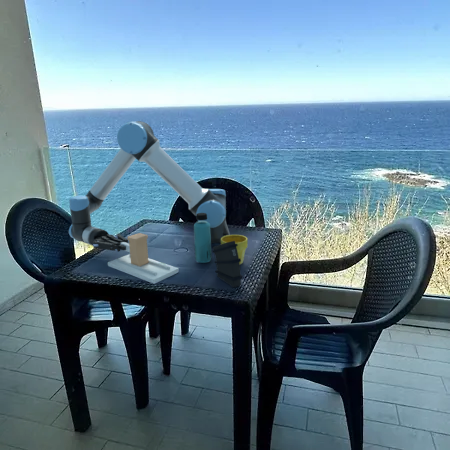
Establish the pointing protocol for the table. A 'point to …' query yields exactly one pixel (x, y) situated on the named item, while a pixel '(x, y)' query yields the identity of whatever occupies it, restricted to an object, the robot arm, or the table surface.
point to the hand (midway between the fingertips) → (133, 249)
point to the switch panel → (144, 269)
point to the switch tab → (138, 249)
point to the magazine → (228, 263)
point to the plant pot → (241, 243)
